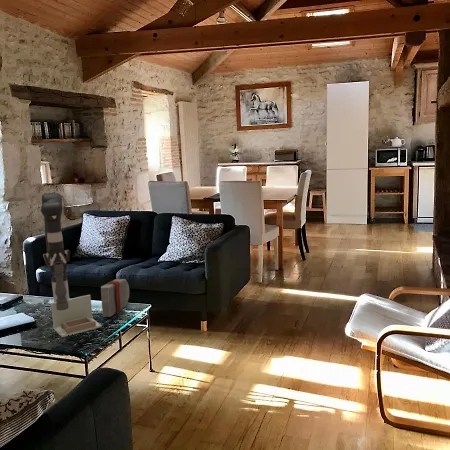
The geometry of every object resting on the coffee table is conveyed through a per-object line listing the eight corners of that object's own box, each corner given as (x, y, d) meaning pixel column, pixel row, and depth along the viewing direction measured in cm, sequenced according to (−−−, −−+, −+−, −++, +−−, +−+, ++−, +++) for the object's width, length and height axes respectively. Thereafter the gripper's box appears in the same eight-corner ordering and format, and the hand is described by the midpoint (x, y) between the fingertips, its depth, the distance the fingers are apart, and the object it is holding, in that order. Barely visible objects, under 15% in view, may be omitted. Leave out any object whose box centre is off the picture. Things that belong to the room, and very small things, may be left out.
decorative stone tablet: (109, 286, 290) (130, 275, 319) (99, 285, 292) (120, 275, 321) (111, 319, 292) (131, 305, 321) (100, 319, 293) (121, 305, 323)
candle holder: (68, 309, 274) (63, 264, 268) (56, 311, 272) (51, 265, 267) (68, 305, 279) (64, 261, 274) (56, 307, 278) (52, 262, 273)
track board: (53, 328, 284) (50, 303, 281) (92, 319, 296) (89, 294, 293) (61, 337, 272) (58, 310, 269) (101, 326, 284) (99, 301, 281)
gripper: (66, 236, 275) (70, 266, 278) (39, 241, 267) (42, 271, 271) (71, 239, 269) (74, 270, 272) (42, 243, 261) (46, 275, 265)
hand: (58, 270), depth 271 cm, fingers closed on candle holder, 5 cm apart
